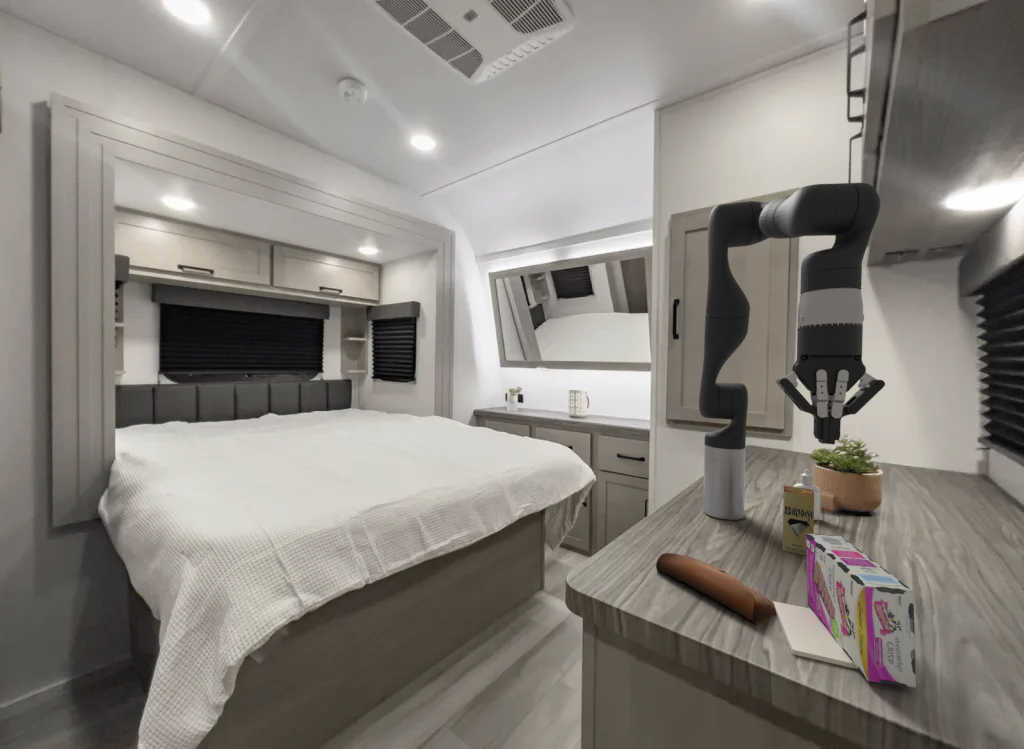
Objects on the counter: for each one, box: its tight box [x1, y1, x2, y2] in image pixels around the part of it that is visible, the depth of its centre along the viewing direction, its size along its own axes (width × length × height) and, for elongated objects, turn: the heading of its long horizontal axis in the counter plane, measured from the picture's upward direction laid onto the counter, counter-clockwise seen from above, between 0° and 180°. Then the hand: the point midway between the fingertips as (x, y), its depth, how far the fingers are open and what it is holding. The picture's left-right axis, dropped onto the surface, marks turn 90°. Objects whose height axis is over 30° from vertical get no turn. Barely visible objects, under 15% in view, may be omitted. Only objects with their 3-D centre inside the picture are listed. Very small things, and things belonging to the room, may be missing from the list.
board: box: [772, 600, 859, 670], centre depth 56 cm, size 12×12×1 cm
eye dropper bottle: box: [792, 469, 821, 521], centre depth 103 cm, size 4×6×12 cm
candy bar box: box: [805, 533, 917, 689], centre depth 54 cm, size 11×5×16 cm
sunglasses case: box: [655, 552, 776, 625], centre depth 68 cm, size 18×7×7 cm
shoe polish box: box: [782, 485, 815, 556], centre depth 84 cm, size 5×5×12 cm
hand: (826, 443), depth 60 cm, fingers closed
